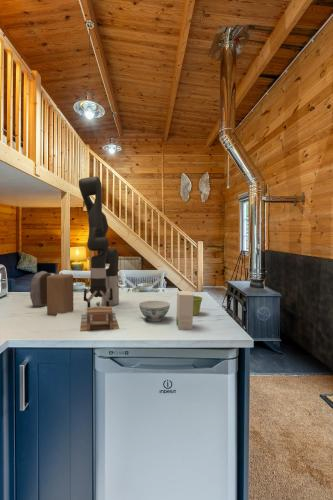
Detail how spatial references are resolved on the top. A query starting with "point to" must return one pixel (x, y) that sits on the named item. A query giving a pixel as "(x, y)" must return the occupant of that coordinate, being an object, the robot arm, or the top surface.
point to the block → (59, 293)
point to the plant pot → (196, 304)
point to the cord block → (98, 315)
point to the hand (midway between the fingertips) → (98, 308)
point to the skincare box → (184, 309)
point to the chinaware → (154, 309)
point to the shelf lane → (99, 325)
